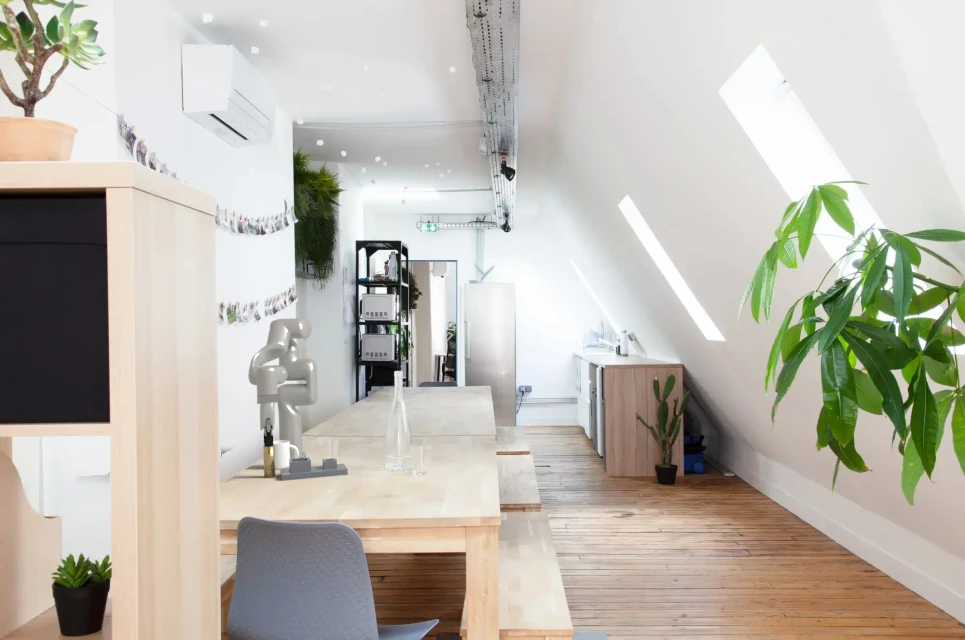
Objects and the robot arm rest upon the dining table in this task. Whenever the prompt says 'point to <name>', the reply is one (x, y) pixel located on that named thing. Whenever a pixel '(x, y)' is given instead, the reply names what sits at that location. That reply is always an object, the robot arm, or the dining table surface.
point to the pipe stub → (269, 461)
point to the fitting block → (312, 469)
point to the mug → (283, 453)
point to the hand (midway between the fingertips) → (268, 444)
